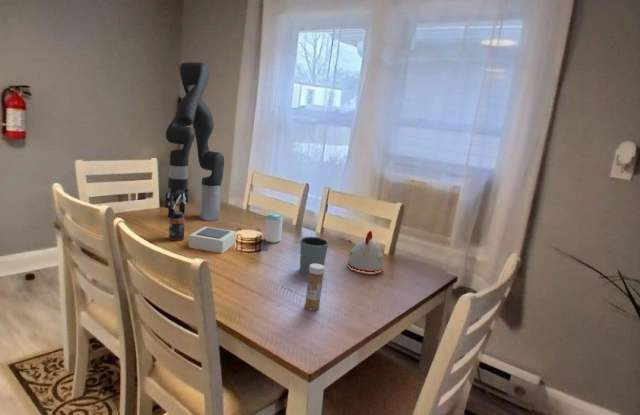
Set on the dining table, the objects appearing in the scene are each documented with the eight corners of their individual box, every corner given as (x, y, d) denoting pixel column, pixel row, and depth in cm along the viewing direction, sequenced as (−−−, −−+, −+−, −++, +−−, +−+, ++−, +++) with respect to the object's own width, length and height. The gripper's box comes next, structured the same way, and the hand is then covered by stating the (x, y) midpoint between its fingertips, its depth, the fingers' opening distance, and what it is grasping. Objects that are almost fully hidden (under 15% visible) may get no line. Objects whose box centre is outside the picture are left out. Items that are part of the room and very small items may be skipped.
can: (270, 244, 180) (273, 217, 177) (261, 239, 185) (263, 213, 182) (283, 242, 184) (286, 216, 182) (274, 237, 190) (277, 212, 187)
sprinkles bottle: (301, 306, 126) (306, 264, 123) (311, 302, 130) (316, 261, 127) (312, 312, 123) (317, 269, 120) (322, 308, 127) (327, 266, 124)
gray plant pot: (328, 270, 157) (331, 240, 155) (319, 279, 148) (323, 247, 145) (303, 264, 161) (306, 234, 158) (292, 273, 151) (296, 241, 148)
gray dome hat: (342, 269, 161) (347, 231, 158) (352, 258, 174) (357, 224, 170) (378, 277, 156) (383, 239, 153) (385, 266, 169) (391, 231, 166)
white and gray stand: (204, 237, 178) (205, 225, 177) (235, 243, 176) (236, 230, 175) (188, 247, 165) (189, 234, 163) (222, 253, 162) (223, 240, 161)
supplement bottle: (186, 237, 175) (187, 211, 173) (180, 242, 169) (181, 215, 167) (172, 235, 176) (173, 209, 173) (166, 240, 170) (167, 213, 167)
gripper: (178, 173, 174) (176, 211, 178) (160, 177, 160) (158, 218, 164) (195, 175, 173) (193, 213, 176) (178, 180, 159) (176, 221, 163)
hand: (176, 215), depth 170 cm, fingers open, 8 cm apart
